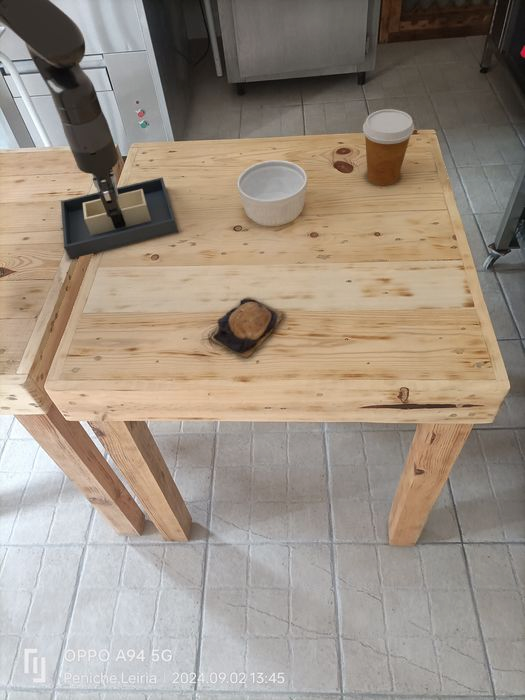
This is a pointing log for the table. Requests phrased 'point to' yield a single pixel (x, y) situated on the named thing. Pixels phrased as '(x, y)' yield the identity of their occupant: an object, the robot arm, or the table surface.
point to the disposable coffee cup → (386, 144)
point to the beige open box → (131, 209)
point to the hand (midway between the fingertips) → (118, 217)
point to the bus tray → (85, 244)
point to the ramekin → (273, 192)
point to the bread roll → (246, 327)
